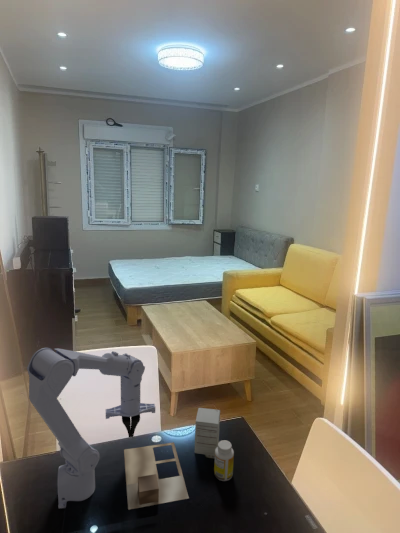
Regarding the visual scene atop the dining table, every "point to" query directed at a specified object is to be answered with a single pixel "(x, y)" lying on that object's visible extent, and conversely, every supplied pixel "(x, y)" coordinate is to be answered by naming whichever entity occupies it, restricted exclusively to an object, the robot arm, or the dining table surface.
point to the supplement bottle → (224, 461)
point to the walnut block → (148, 489)
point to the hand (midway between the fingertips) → (130, 435)
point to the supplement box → (207, 431)
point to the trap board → (144, 465)
